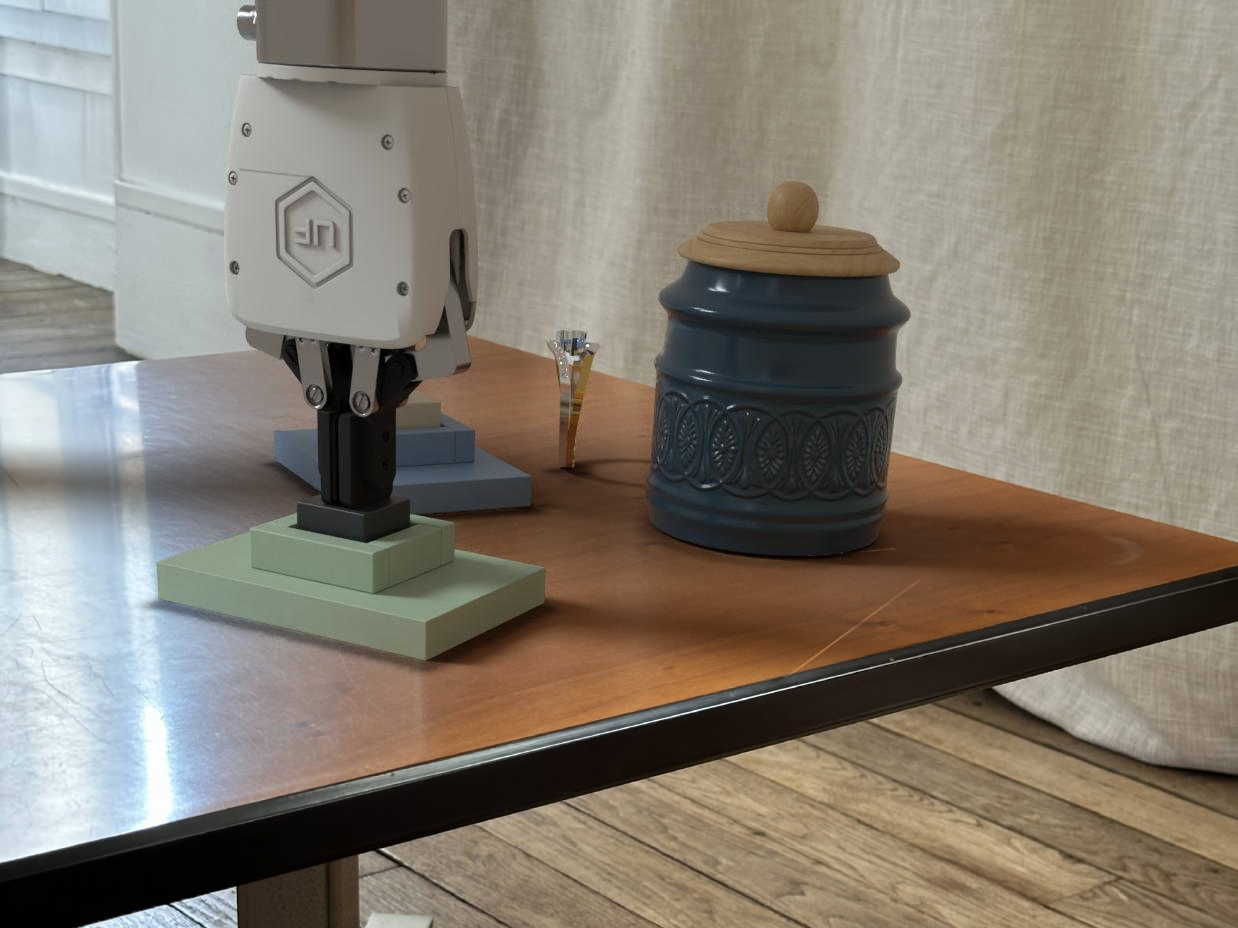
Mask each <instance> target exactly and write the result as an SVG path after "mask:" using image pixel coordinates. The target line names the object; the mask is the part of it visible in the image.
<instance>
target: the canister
mask: <svg viewBox="0 0 1238 928" xmlns="http://www.w3.org/2000/svg"><path fill="white" fill-rule="evenodd" d="M819 203H820V201H819V198H818V195H817V193H816V192H815V190H814V189H813V188H812V187H811V185H809V184H808V183H804V182H802V181H795V180H794V181H791V180H790V181H785V182H782V183H780V184H779V185H777V186H776V187H775V188H774V189H773V191H772V192H771V194H770V196H769V198H768V201H767V205H766V218H767V220H727V221H725V220H724V221H716V222H711V223H708V224H707V225H706V227H705V228H704V229H703V231H701V232H699V233H698V234H696V235H695V236H693V237H690V238H689V239H687V240H685V241H683V242H682V243H680V244H679V245H678V246H677V254H678V256H680V258H683V259H685V260H686V262H685V265H684V267H683V269H682V271H681V274H680V275H679V277H678V278H677V279H676V280H674V281H672V282H670V283H669V284H668V285H666V286H664V287H663V288H662V289H661V290H660V291H659V292H658V295H657V301H658V303H659V304H660V306H661V307H662V308H663V310H664V311H665V313H666V326H665V327H666V328H665V334H664V336H665V337H664V342H663V347H662V350H661V351H660V352H659V353H657V354H656V356H655V357H654V359H653V367H654V368H655V371H656V372H655V373H656V374H655V388H654V404H653V405H654V406H653V419H652V433H651V434H652V435H651V448H650V461H649V462H650V463H649V464H650V465H649V468H648V469H647V471H646V474H645V480H646V483H647V484H646V486H645V492H644V494H645V499H646V501H647V505H648V520H649V521H650V523H651V524H652V525H653V526H654V527H655V528H656V529H658V530H659V531H661V532H663V533H664V534H666V535H669V536H670V537H673V538H676V539H678V540H681V541H684V542H687V543H691V544H695V545H697V546H702V547H706V548H711V549H715V550H720V551H721V550H722V551H728V552H733V553H734V552H735V553H742V554H750V555H759V556H777V557H816V556H829V555H839V554H843V553H849V552H854V551H857V550H860V549H863V548H865V547H868V546H870V545H871V544H872V543H874V542H875V541H877V539H878V538H879V535H880V530H881V526H882V523H883V521H884V519H885V518H886V515H887V512H888V509H887V508H888V507H887V503H888V500H889V496H890V495H889V489H888V475H889V467H890V459H891V450H892V443H893V434H894V427H895V419H896V410H897V402H898V395H899V390H900V388H901V386H902V384H903V375H902V373H901V372H900V371H899V370H898V369H897V344H898V343H897V342H898V334H899V331H900V330H901V329H902V328H903V327H904V326H905V325H906V324H907V323H908V322H909V321H910V319H911V318H912V312H911V309H910V308H909V306H908V305H907V304H906V303H904V302H903V301H902V300H900V299H899V297H897V296H896V295H895V294H894V293H893V289H892V285H891V281H890V277H889V275H891V274H894V273H897V272H898V271H899V269H900V268H901V262H900V260H899V259H898V258H896V257H895V256H894V255H893V254H891V253H890V252H889V251H887V250H886V249H884V247H882V246H881V245H880V244H879V242H878V240H877V239H876V237H875V236H874V235H873V234H870V233H867V232H864V231H860V230H856V229H851V228H844V227H837V226H830V225H823V224H822V225H821V224H816V223H817V221H818V217H819V213H820V204H819Z"/></svg>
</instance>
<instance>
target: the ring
mask: <svg viewBox="0 0 1238 928" xmlns="http://www.w3.org/2000/svg"><path fill="white" fill-rule="evenodd" d="M555 333H556V336H555V339H552V340H546V341H545V343H546V345H547V349H548V350H549V351H550V352H551V354H552V356H553V357H554V360H555V368H556V374H557V375H556V376H557V380H558V387H559V399H560V400H559V427H558V428H559V429H558V430H559V432H558V458H559V459H558V463H559V468H560V469H573V470H574V469H575V465H576V461H575V459H576V451H577V440H578V425H579V421H580V416H581V411H582V407H583V404H584V399H585V395H586V390H587V385H588V381H589V376H590V373H591V369H592V366H593V362H594V358H595V355H596V354H597V353H598V351H599V350H600V348H601V344H600V343H599V342H591V341H587V336H588V333H587V331H585V330H573V329H572V330H571V331H570V330H565V329H560V330H556V332H555ZM569 361H572V368H571V374H570V365H569Z"/></svg>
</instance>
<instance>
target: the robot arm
mask: <svg viewBox="0 0 1238 928" xmlns="http://www.w3.org/2000/svg"><path fill="white" fill-rule="evenodd" d="M236 28H237V31H238V33H239V35H240V36H241V38H242V40H243V39H244V40H245V41H249V42H250V41H253V42H255V45H256V46H255V50H256V51H255V52H256V56H255V57H256V61H257V62H256V74H253V73H252V74H249V73H247V74H245V73H244V74H240V75H239V79H238V80H239V81H238V85H237V90H236V95H235V99H234V105H233V111H232V117H231V122H230V123H231V124H230V130H229V139H228V149H227V157H226V173H225V187H224V213H223V214H224V217H223V278H224V294H225V301H226V306H227V309H228V311H229V313H230V315H231V316H232V317H233V318H234V319H235V320H236V321H237V322H239V323H240V324H242V325H243V326H244V327H245V331H244V332H245V340H246V342H247V344H248V345H249V346H250V347H251V348H253V349H255V350H258V351H259V352H262V353H264V354H266V355H268V356H270V357H272V358H275V359H277V360H280V361H281V360H283V361H284V363H285V364H286V365H287V367H288V368H289V370H290V371H291V373H292V374H293V375H294V376H295V378H296V379H297V380H298V382H299V384H300V385H301V390H302V396H303V399H304V402H305V403H306V405H307V406H308V407H309V408H311V409H313V410H316V421H317V422H316V426H317V428H316V429H317V432H318V470H319V473H320V475H321V492H320V494H321V499H322V501H323V502H324V503H327V504H332V505H336V504H339V503H342V504H343V506H344V507H348V508H353V509H357V508H360V507H363V506H366V505H369V504H372V503H375V502H378V501H381V500H384V499H386V498H389V497H390V496H391V494H392V491H393V481H394V479H395V476H396V409H397V408H400V407H403V406H404V405H406V403H407V402H408V399H409V395H410V394H411V393H412V392H413V391H414V390H417V388H418V387H419V386H420V385H421V384H422V383H423V381H426V380H427V381H428V380H433V379H434V380H435V379H440V378H441V379H442V378H447V377H451V376H455V375H459V374H464V373H466V372H468V371H469V369H470V368H471V365H472V356H471V350H470V345H469V340H468V335H467V334H468V333H467V332H468V331H470V329H471V328H472V327H473V325H474V322H475V318H476V313H477V303H478V290H479V289H478V288H479V246H478V245H479V240H478V239H479V237H478V236H479V235H478V219H477V201H476V188H475V175H474V167H473V157H472V150H471V149H472V148H471V142H470V137H469V129H468V125H467V123H468V122H467V117H466V112H465V107H464V102H463V98H462V93H461V89H460V86H453V85H448V83H449V82H448V81H449V78H448V77H449V75H448V74H449V72H447V71H448V70H449V68H448V67H449V64H448V63H449V0H254V4H244V5H242V6H241V7H239V10H238V12H237V15H236ZM424 338H425V343H424V346H423V347H422V348H420V349H419V348H418V349H416V346H417V344H419V343H421V342H422V341H423V339H424Z"/></svg>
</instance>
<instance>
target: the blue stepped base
mask: <svg viewBox="0 0 1238 928" xmlns="http://www.w3.org/2000/svg"><path fill="white" fill-rule="evenodd" d="M273 443H274V460H275V461H276V462H277V463H279V464H280V465H282V466H284V467H285V468H286V469H288V470H289V471H290V472H292V473H293V474H295V475H296V476H297V477H299V478H300V479H301V480H303V481H305V482H306V483H307V484H308V485H310V486H312V487H313V488H314V489H316V490H317V491H318V492H320V493H321V475H320V473H319V470H318V432H317V428H308V429H305V428H304V429H287V430H284V429H283V430H275V431H274V432H273ZM532 478H533V477H532V476H531V475H530V474H528V473H526V472H524V471H522V470H521V469H519V468H517V467H515V466H513V465H511V464H510V463H508V462H506V461H504V460H502V459H500V458H498V457H496V456H494V455H493V454H491V453H489V452H488V451H485V450H484V449H481V448H480V447H478V446H476V430H475V429H473V428H472V427H470V426H468V425H466V424H464V423H462V422H460V421H458V420H456V419H454V418H452V417H450V416H449V415H448V414H444V413H443V412H441V426H440V427H431V428H411V429H396V476H395V479H394V481H393V491H392V494H391V495H392V496H397V497H403V498H408V499H410V514H413V515H418V516H420V515H430V514H432V515H433V514H444V513H445V514H446V513H458V512H459V513H460V512H472V511H485V510H486V511H487V510H499V509H500V510H501V509H513V508H527V507H531V503H532V502H531V501H532Z"/></svg>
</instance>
